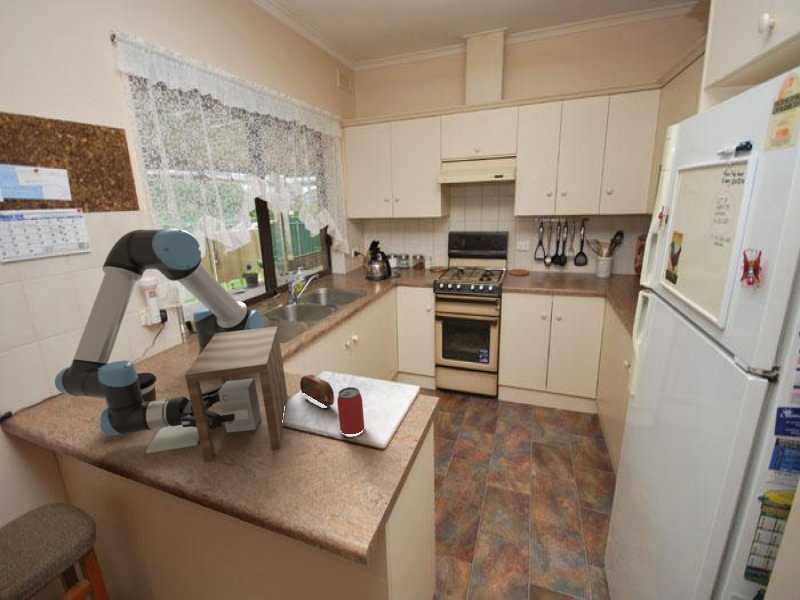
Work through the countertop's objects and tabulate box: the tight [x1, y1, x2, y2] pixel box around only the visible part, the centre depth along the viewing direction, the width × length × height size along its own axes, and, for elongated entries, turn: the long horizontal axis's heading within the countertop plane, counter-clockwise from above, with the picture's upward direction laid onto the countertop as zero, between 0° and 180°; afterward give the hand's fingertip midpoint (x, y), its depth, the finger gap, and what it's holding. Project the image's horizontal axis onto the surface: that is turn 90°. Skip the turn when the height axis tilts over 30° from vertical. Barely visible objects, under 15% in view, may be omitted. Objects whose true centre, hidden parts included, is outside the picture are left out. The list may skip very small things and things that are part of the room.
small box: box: [218, 378, 262, 434], centre depth 104 cm, size 8×6×13 cm
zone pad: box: [146, 425, 200, 454], centre depth 102 cm, size 12×12×1 cm
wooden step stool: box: [184, 326, 288, 463], centre depth 103 cm, size 28×18×24 cm, turn 13°
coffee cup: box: [137, 372, 157, 402], centre depth 112 cm, size 11×11×12 cm
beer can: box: [336, 386, 365, 434], centre depth 99 cm, size 7×7×12 cm
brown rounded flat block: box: [299, 374, 335, 408], centre depth 115 cm, size 15×3×8 cm, turn 47°
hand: (252, 400), depth 105 cm, fingers open, 13 cm apart
